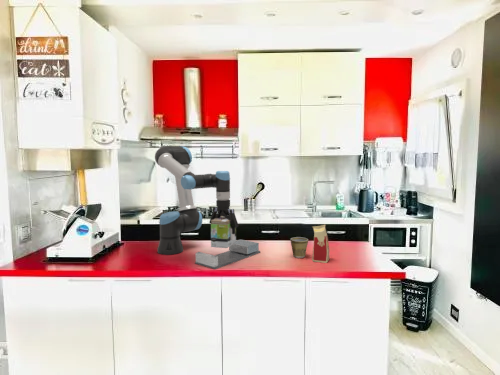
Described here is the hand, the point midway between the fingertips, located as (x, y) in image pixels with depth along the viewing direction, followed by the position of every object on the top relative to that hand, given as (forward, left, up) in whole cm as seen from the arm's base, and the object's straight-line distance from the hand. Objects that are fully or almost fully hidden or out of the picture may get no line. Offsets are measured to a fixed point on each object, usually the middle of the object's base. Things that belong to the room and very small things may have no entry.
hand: (223, 238), depth 193 cm
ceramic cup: (+29, +33, -12) cm, 45 cm away
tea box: (0, 0, -4) cm, 4 cm away
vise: (0, +5, -12) cm, 13 cm away
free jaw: (0, +17, -11) cm, 20 cm away
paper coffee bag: (+42, +33, -12) cm, 54 cm away
